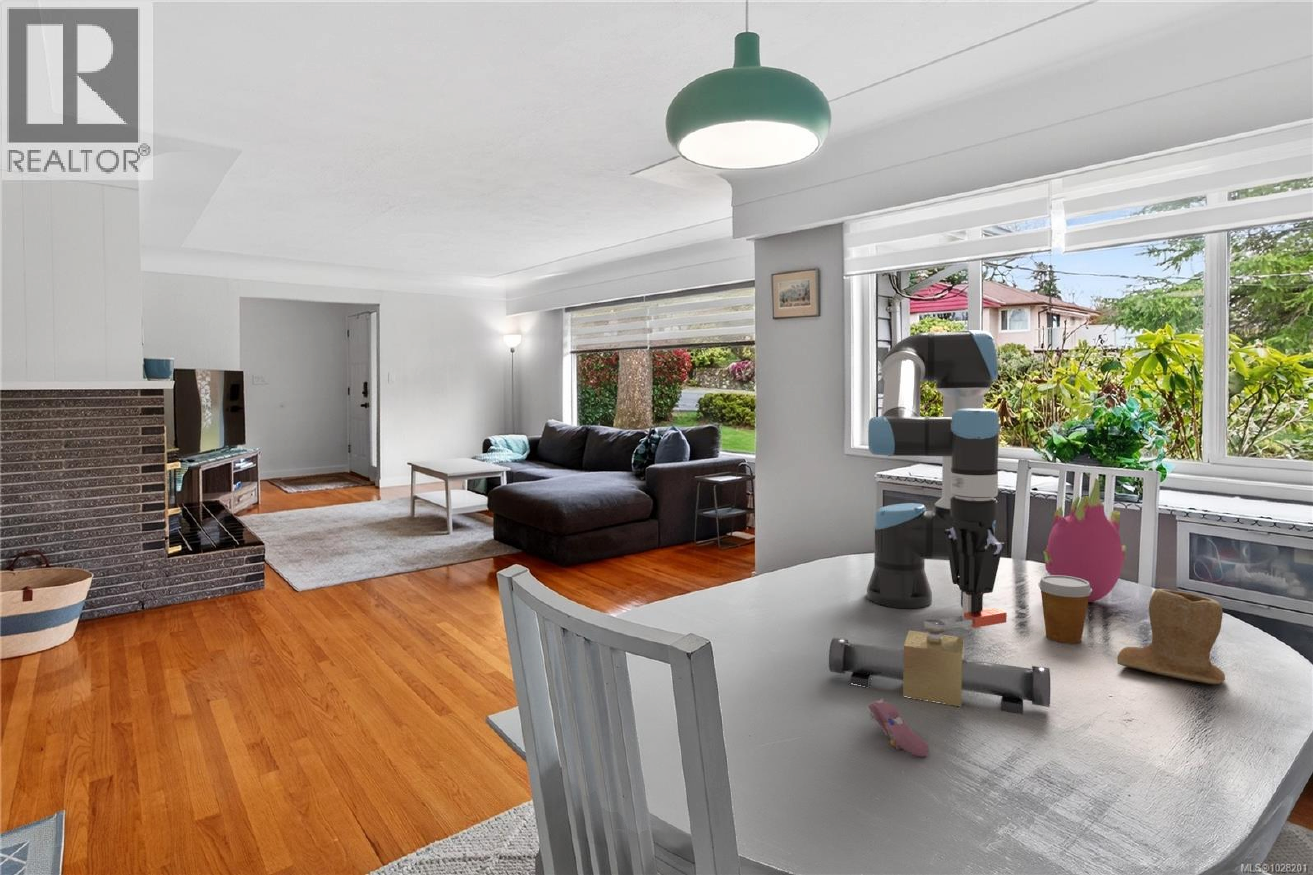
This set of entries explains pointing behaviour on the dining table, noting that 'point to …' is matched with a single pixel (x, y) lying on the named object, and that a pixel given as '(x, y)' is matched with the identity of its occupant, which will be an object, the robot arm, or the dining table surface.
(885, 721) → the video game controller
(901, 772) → the dining table surface
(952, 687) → the valve pipe
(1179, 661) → the tan flared piece
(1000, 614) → the lever
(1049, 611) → the disposable coffee cup
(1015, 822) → the dining table surface
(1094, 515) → the pink dragon fruit
